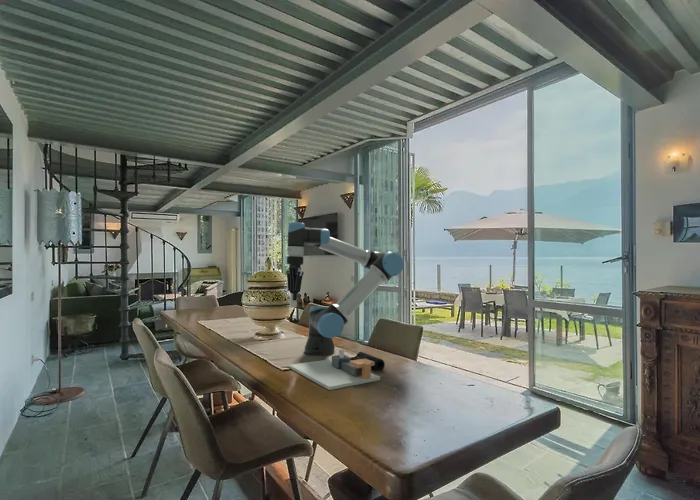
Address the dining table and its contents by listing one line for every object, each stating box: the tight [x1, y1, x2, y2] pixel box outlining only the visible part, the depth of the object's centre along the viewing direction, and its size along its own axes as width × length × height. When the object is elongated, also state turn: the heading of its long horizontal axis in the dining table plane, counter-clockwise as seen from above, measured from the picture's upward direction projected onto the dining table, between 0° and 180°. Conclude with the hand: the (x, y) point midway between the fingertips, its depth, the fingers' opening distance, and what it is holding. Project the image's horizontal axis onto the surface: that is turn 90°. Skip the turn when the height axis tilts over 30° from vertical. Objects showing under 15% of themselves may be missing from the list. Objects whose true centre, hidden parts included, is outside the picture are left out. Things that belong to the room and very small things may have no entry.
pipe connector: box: [350, 351, 385, 372], centre depth 170 cm, size 12×5×15 cm
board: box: [288, 358, 381, 391], centre depth 158 cm, size 24×32×1 cm
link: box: [331, 354, 362, 376], centre depth 159 cm, size 18×6×4 cm, turn 30°
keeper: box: [349, 358, 375, 379], centre depth 151 cm, size 8×7×7 cm
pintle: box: [338, 350, 345, 358], centre depth 164 cm, size 2×2×8 cm
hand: (293, 307), depth 176 cm, fingers closed
